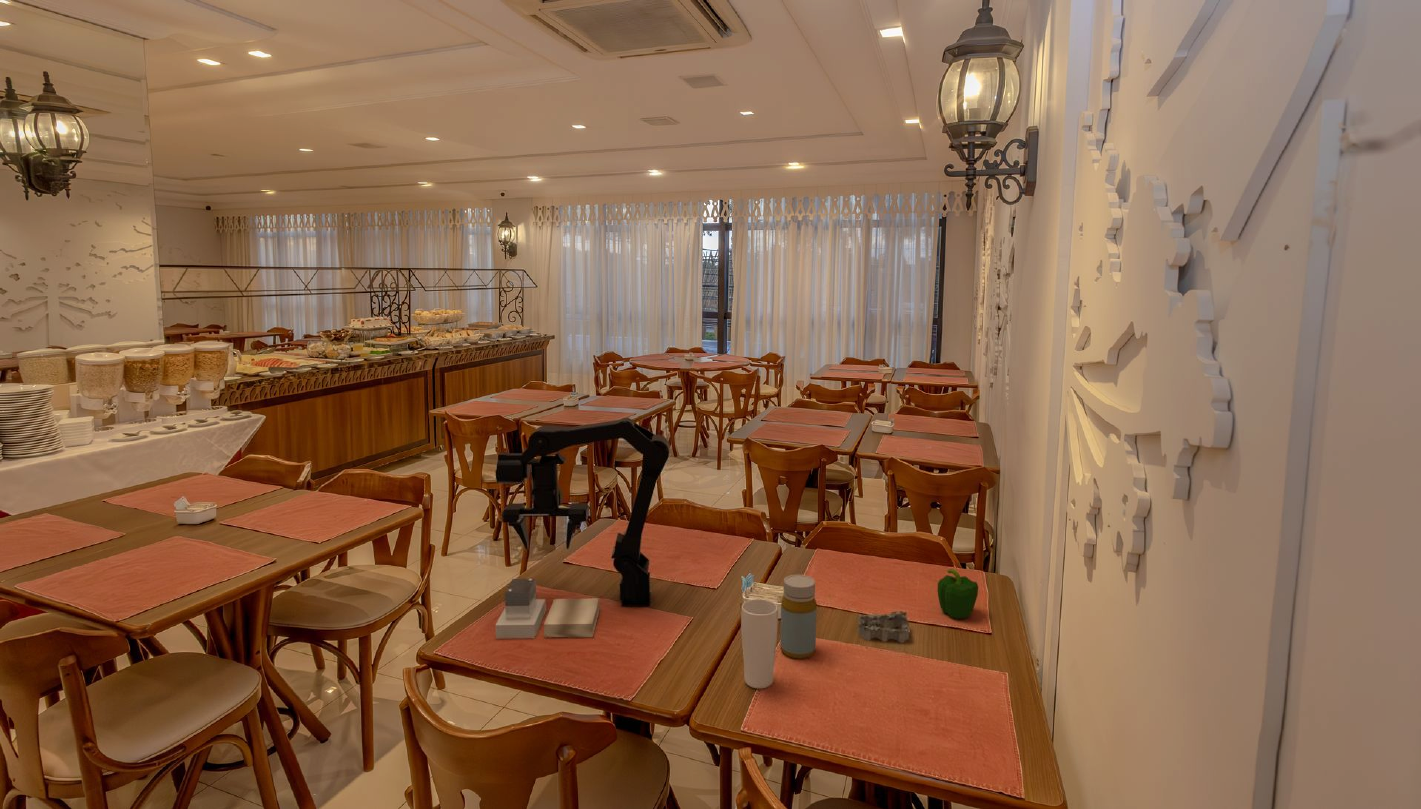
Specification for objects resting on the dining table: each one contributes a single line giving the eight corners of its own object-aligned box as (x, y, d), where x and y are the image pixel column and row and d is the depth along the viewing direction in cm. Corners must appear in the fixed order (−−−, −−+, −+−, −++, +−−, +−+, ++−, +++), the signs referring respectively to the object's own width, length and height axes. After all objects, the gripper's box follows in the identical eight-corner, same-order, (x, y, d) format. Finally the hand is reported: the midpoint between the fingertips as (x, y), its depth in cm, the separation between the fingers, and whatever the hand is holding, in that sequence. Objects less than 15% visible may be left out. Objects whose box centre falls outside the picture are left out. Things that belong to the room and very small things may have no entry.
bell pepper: (984, 619, 159) (987, 576, 157) (953, 625, 156) (956, 581, 154) (959, 603, 166) (962, 562, 165) (929, 608, 164) (932, 567, 162)
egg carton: (907, 629, 155) (908, 611, 154) (910, 646, 148) (911, 627, 147) (857, 623, 157) (857, 606, 156) (856, 640, 150) (857, 622, 149)
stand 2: (599, 610, 162) (599, 598, 162) (592, 637, 151) (592, 623, 150) (554, 611, 162) (554, 599, 162) (544, 637, 150) (543, 624, 150)
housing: (536, 604, 159) (535, 577, 158) (529, 619, 152) (528, 591, 151) (513, 604, 159) (512, 577, 158) (506, 619, 152) (504, 591, 151)
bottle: (818, 645, 147) (820, 576, 145) (811, 662, 141) (813, 590, 138) (784, 640, 149) (786, 571, 147) (776, 656, 143) (778, 585, 140)
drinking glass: (778, 692, 131) (779, 615, 128) (740, 692, 131) (741, 615, 128) (775, 672, 137) (777, 598, 135) (740, 671, 137) (740, 598, 135)
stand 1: (545, 611, 162) (545, 599, 161) (534, 638, 150) (534, 624, 150) (510, 612, 162) (509, 599, 161) (496, 638, 150) (495, 625, 149)
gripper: (591, 472, 170) (593, 535, 173) (511, 473, 170) (514, 536, 172) (584, 486, 159) (586, 553, 162) (499, 486, 159) (503, 554, 161)
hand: (547, 548), depth 165 cm, fingers open, 9 cm apart
